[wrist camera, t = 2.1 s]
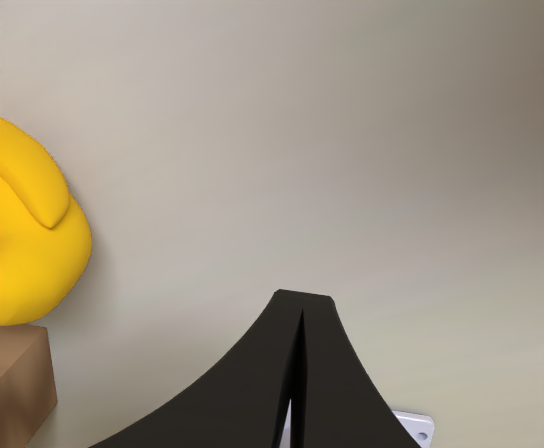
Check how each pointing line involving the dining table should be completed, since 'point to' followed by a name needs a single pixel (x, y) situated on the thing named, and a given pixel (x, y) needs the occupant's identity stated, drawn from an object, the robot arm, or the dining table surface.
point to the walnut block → (24, 383)
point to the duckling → (36, 230)
